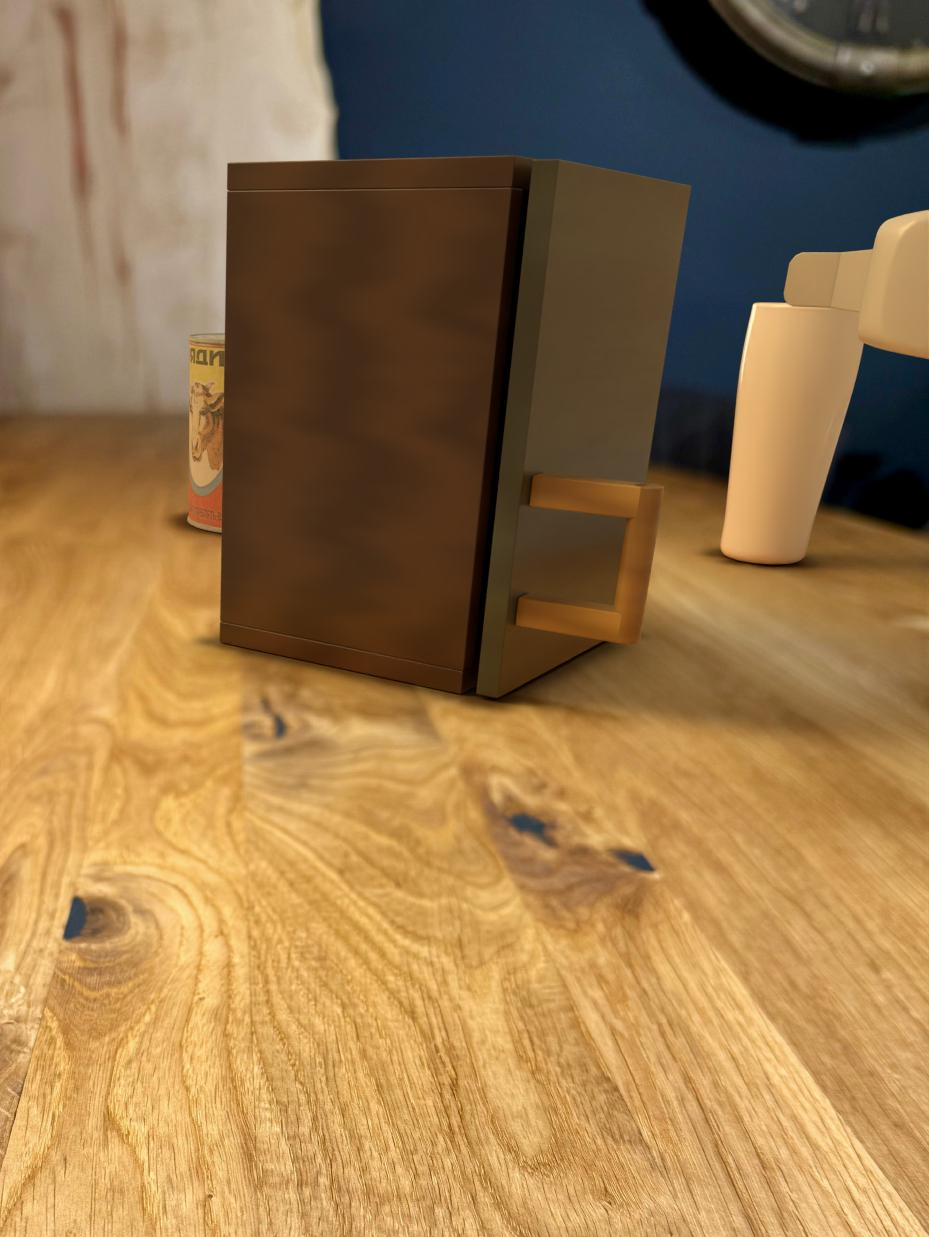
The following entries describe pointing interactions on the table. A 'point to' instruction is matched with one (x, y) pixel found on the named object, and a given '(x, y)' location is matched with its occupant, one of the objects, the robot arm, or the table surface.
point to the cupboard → (367, 407)
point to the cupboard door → (581, 419)
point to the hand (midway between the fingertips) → (796, 279)
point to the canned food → (206, 430)
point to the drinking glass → (786, 427)
